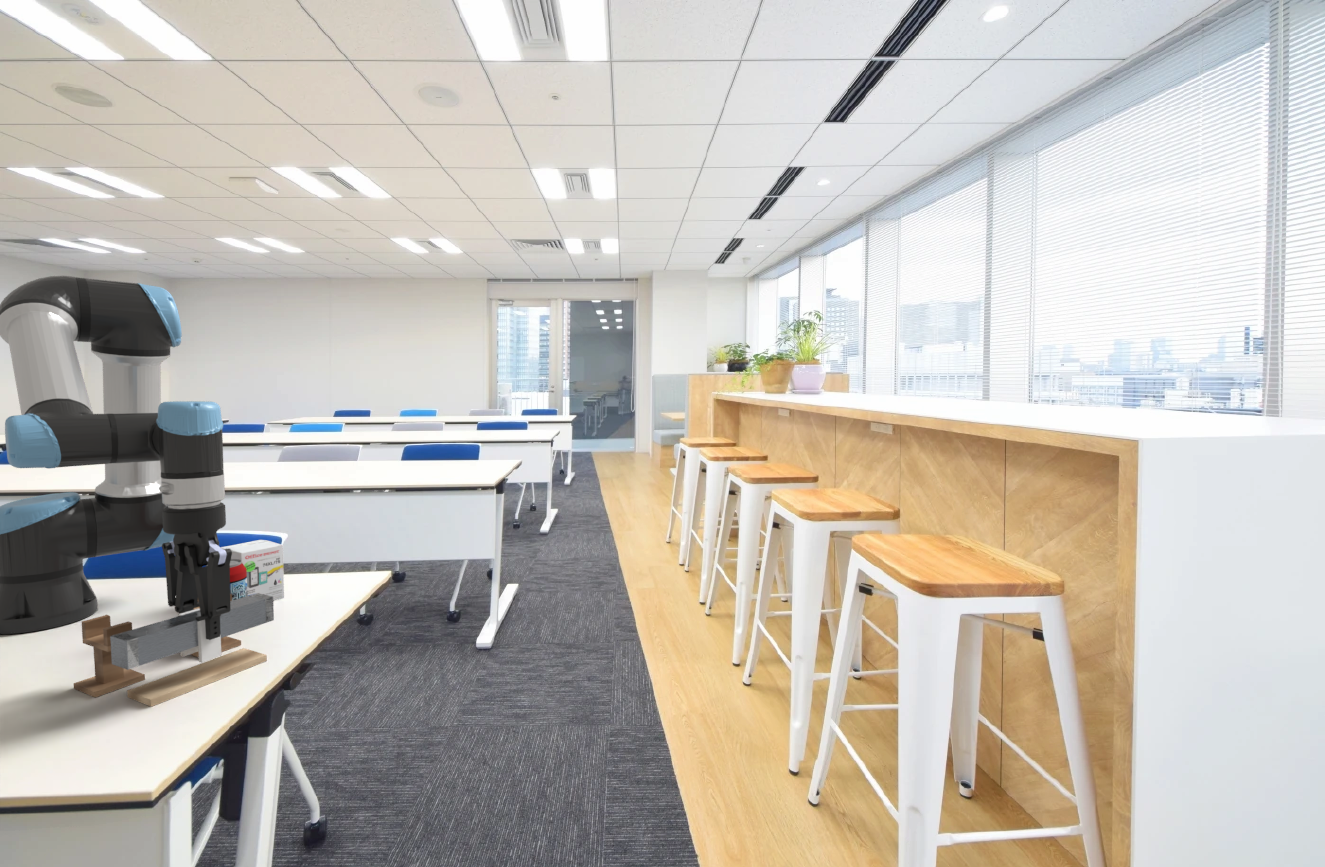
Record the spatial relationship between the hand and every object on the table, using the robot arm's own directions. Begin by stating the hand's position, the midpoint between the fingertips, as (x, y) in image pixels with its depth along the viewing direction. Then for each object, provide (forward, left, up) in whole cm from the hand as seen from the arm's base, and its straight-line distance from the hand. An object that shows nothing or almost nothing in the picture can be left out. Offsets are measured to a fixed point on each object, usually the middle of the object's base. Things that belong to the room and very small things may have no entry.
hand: (200, 655), depth 93 cm
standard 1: (-10, -7, -4) cm, 13 cm away
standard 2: (-10, +7, -4) cm, 13 cm away
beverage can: (-18, +14, -4) cm, 23 cm away
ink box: (-28, +25, -4) cm, 38 cm away
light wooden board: (0, 0, -4) cm, 4 cm away
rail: (0, 0, +2) cm, 2 cm away
